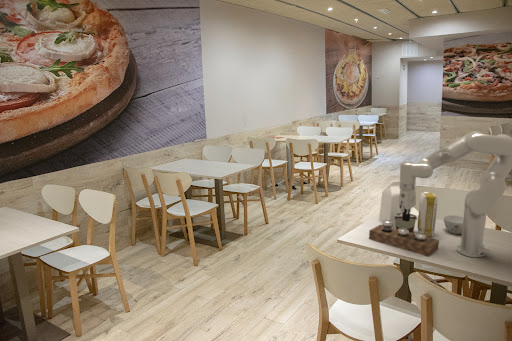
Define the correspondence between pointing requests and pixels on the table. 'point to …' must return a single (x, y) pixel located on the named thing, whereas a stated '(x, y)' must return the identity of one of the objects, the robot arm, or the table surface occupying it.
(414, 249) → the knob mount
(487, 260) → the table surface
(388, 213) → the milk
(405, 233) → the knob
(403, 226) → the food container
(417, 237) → the knob
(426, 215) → the juice carton
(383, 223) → the knob
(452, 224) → the teacup
